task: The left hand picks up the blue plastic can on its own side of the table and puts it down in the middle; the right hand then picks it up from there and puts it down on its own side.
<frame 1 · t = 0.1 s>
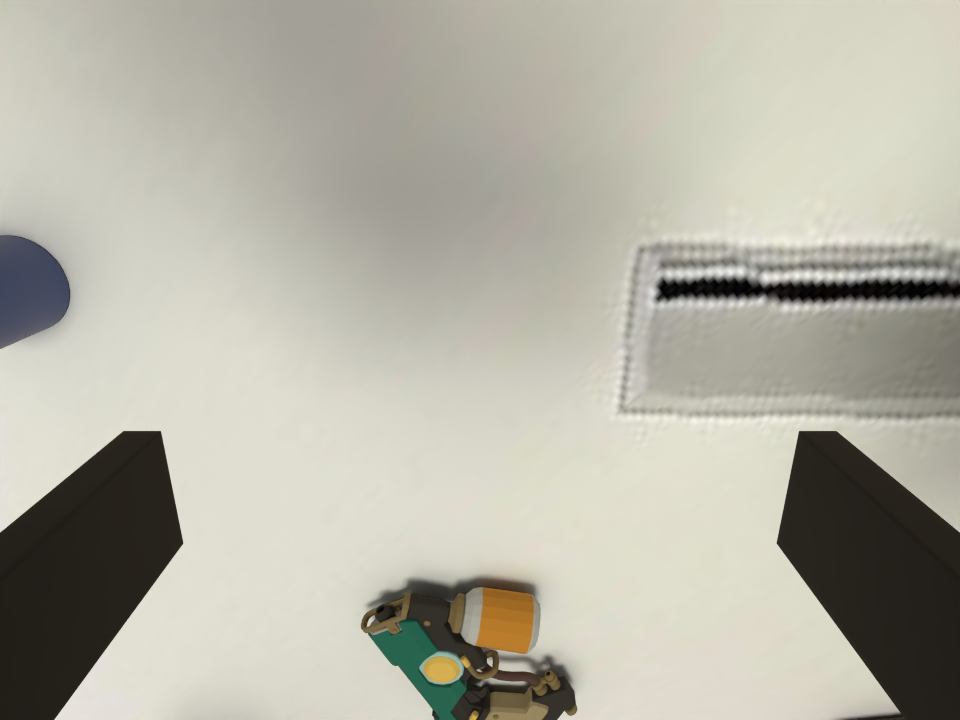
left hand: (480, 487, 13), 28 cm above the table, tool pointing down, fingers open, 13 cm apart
spray gun: (474, 649, 50), on the table
can: (20, 284, 40), on the table
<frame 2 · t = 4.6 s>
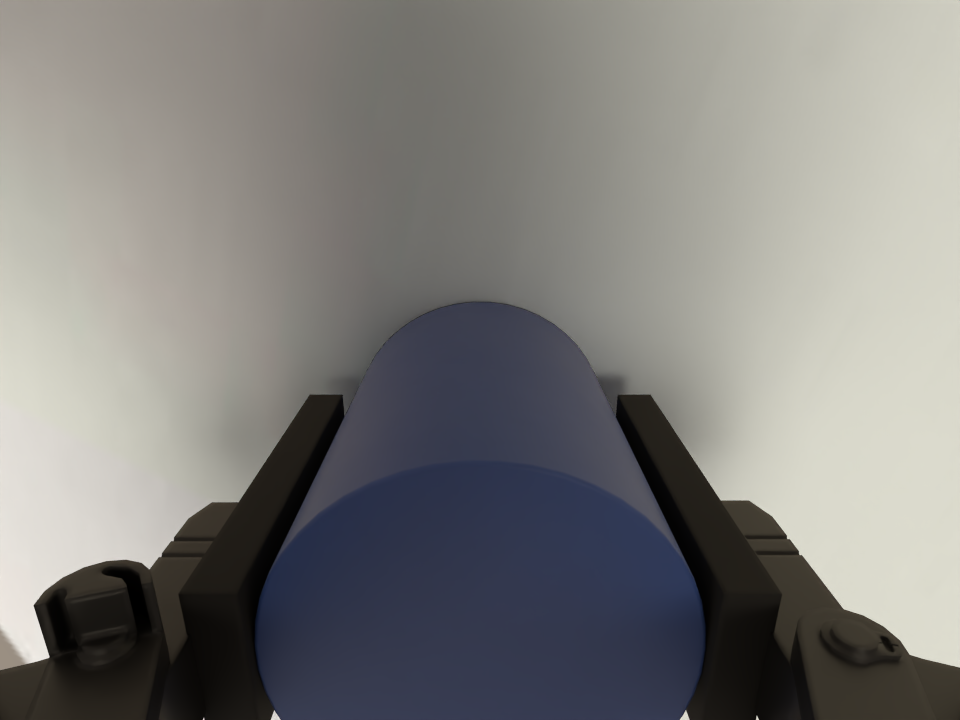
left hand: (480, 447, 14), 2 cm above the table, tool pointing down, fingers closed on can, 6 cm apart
can: (480, 419, 16), on the table, touching left hand
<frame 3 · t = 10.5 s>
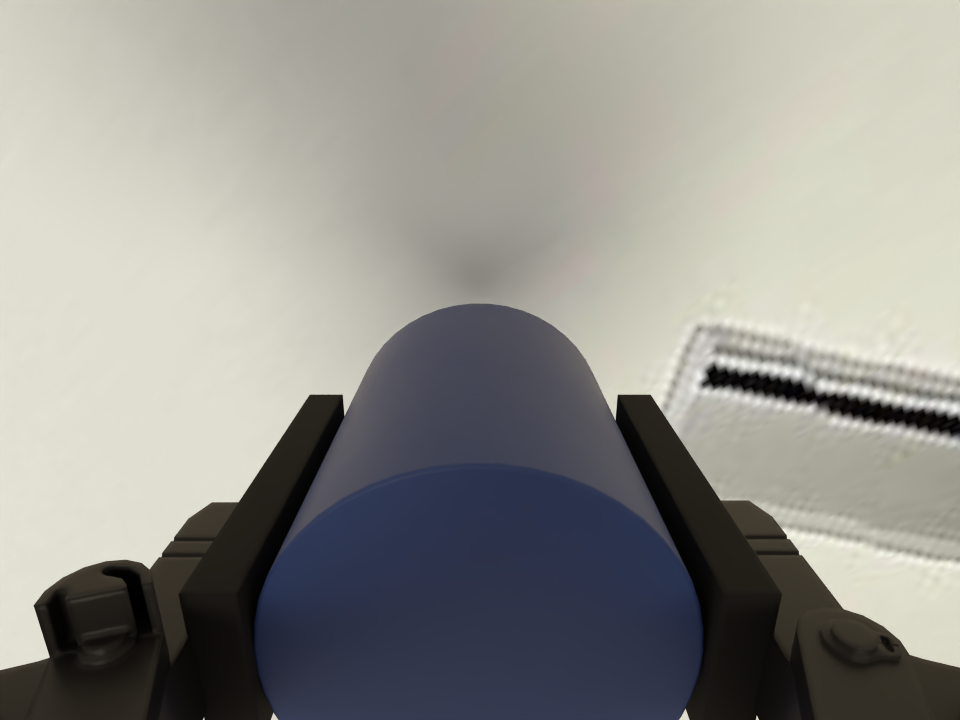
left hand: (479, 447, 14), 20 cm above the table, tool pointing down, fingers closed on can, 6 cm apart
can: (479, 420, 16), point 19 cm above the table, touching left hand
when the left hand's fingers open (3 cm above the table, at t = 16.8 s): can stays where it is, on the table.
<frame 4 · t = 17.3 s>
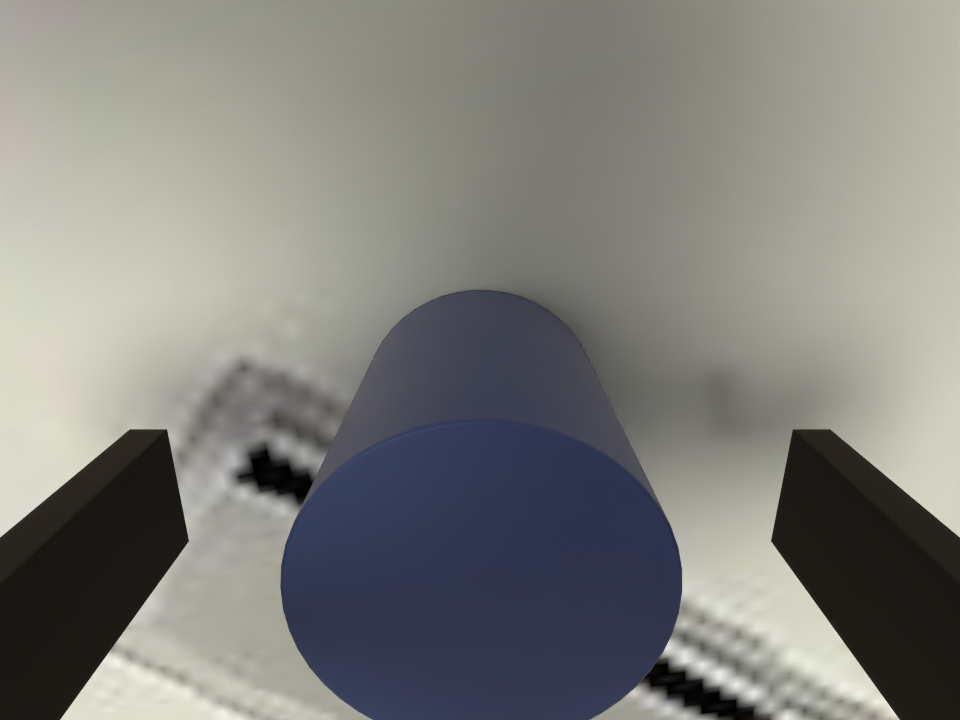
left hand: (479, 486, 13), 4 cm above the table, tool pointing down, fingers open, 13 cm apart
can: (480, 401, 17), on the table
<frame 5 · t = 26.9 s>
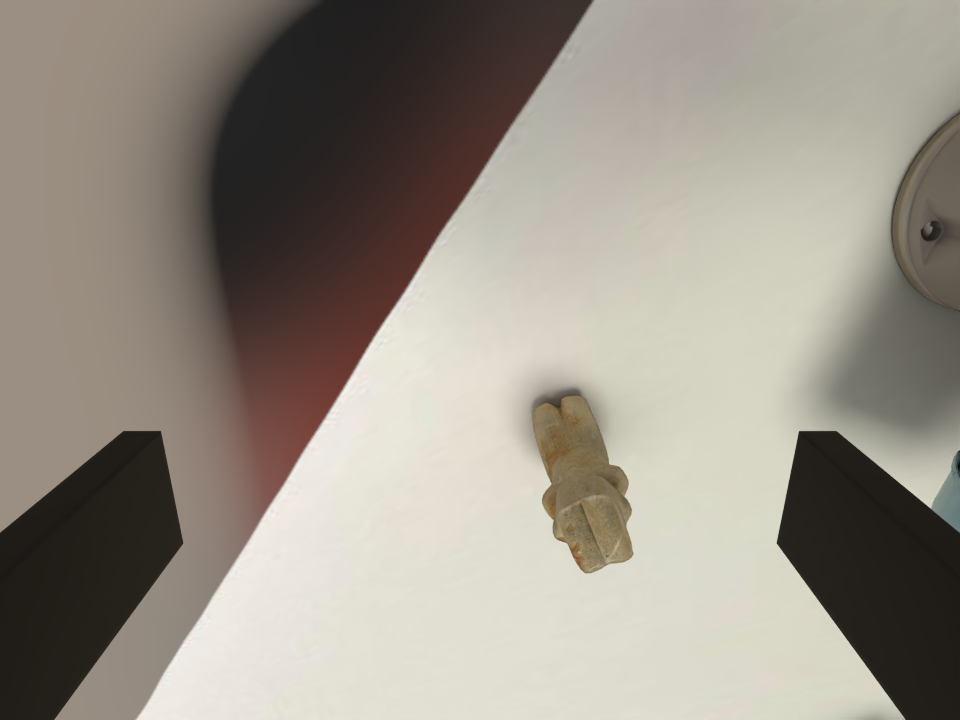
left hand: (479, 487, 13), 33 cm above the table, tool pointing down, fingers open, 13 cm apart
sculpture: (567, 431, 49), on the table
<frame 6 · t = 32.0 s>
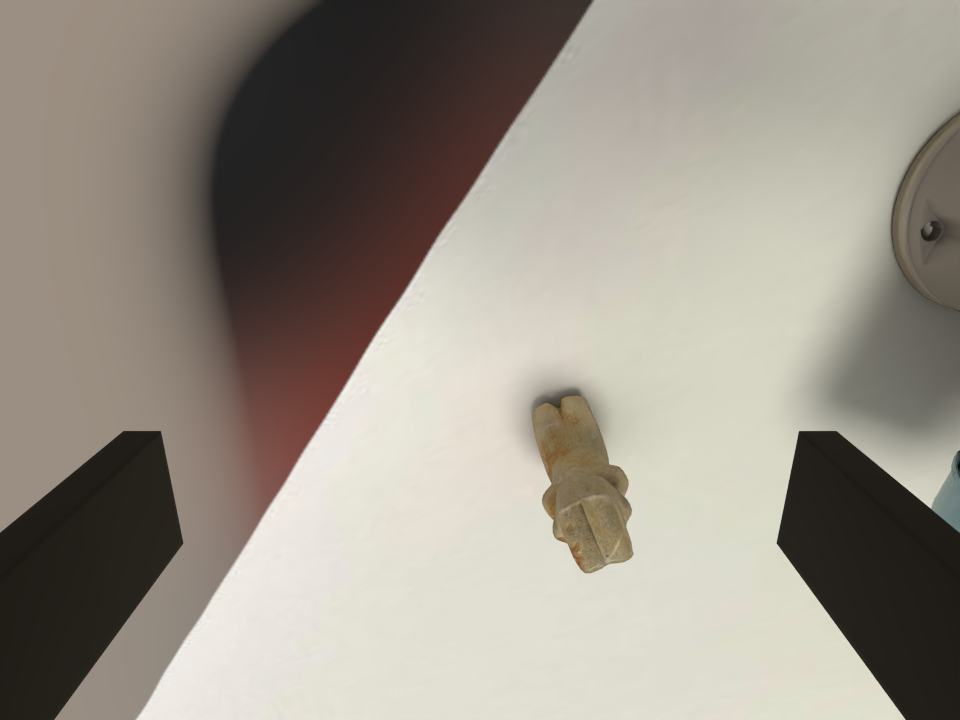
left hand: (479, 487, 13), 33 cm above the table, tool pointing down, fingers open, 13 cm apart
sculpture: (567, 431, 49), on the table
when the right hand's fingers open (3 cm above the table, at t = 37.4 s): can drops 1 cm, on the table.
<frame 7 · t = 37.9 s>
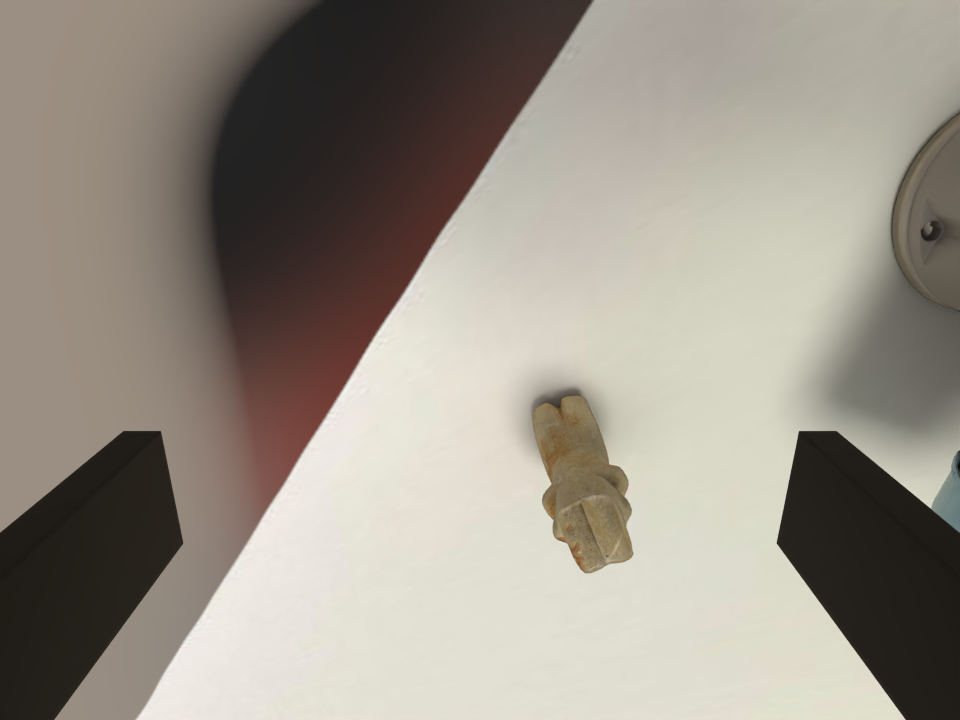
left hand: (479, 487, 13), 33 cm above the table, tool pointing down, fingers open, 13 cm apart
sculpture: (567, 431, 49), on the table
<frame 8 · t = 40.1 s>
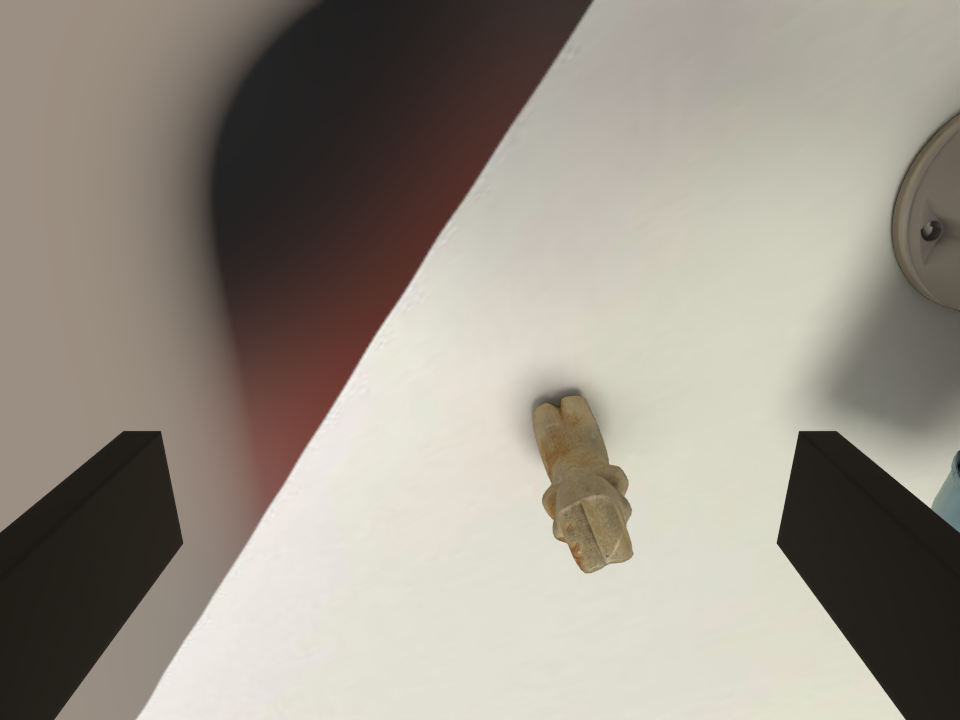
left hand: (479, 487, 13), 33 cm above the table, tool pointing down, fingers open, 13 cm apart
sculpture: (567, 431, 49), on the table
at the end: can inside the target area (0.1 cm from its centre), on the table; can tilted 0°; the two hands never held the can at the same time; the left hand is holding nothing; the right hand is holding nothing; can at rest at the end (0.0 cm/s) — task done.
